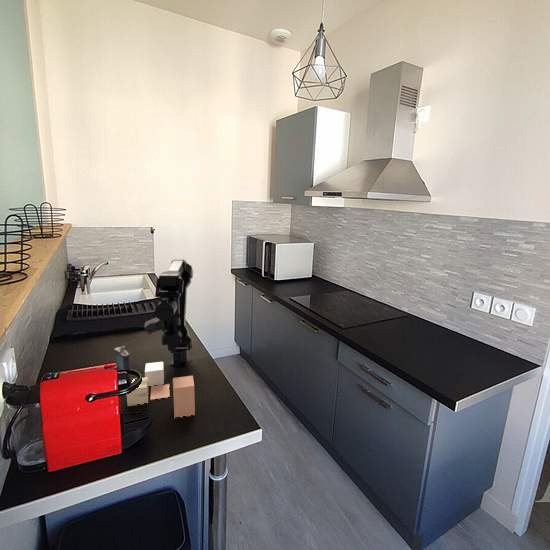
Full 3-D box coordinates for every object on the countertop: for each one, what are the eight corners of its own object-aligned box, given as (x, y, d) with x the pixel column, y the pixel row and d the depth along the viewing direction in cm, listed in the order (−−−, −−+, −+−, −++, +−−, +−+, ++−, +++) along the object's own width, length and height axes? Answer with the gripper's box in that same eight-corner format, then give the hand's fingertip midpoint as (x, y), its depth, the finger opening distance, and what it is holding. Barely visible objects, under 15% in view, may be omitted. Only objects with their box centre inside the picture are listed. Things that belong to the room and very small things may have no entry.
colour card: (151, 387, 115) (151, 386, 115) (169, 384, 117) (169, 383, 117) (150, 400, 108) (150, 399, 108) (169, 397, 110) (169, 396, 109)
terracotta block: (174, 406, 105) (172, 378, 103) (193, 403, 107) (192, 375, 104) (174, 418, 99) (173, 388, 97) (194, 415, 101) (194, 385, 99)
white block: (146, 378, 121) (145, 363, 119) (164, 376, 122) (163, 361, 121) (145, 387, 115) (144, 371, 114) (163, 385, 117) (163, 369, 116)
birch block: (129, 395, 110) (128, 379, 109) (148, 393, 112) (147, 377, 110) (127, 406, 104) (126, 389, 103) (147, 403, 106) (146, 386, 105)
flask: (114, 369, 125) (112, 343, 123) (122, 367, 128) (120, 341, 125) (125, 379, 120) (123, 352, 117) (133, 376, 122) (131, 349, 119)
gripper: (146, 303, 118) (148, 343, 121) (143, 321, 100) (146, 368, 104) (179, 301, 121) (180, 340, 125) (181, 319, 104) (182, 364, 107)
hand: (172, 352), depth 115 cm, fingers closed
